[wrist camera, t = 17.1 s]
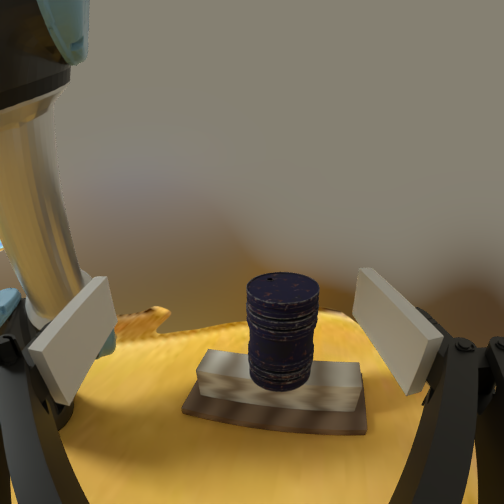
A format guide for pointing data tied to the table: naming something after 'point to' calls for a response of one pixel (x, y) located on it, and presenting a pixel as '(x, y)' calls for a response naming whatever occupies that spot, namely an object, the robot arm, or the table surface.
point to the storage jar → (281, 329)
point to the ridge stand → (279, 397)
